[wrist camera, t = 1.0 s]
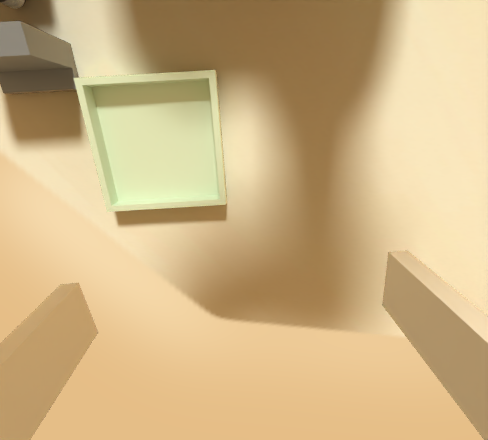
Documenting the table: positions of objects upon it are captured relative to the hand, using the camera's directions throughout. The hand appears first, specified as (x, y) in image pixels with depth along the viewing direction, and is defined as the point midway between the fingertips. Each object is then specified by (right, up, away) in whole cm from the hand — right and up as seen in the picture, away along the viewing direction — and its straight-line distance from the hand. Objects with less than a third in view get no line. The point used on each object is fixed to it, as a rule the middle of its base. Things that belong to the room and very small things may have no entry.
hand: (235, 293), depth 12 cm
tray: (-9, +12, +21) cm, 26 cm away
